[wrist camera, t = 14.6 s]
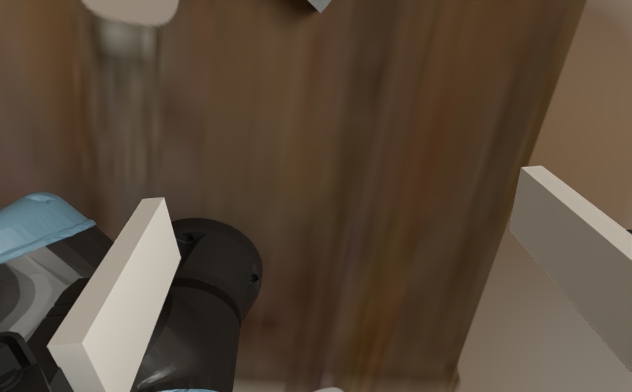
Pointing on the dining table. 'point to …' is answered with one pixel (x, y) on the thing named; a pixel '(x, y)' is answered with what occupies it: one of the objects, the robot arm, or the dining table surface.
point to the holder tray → (319, 4)
